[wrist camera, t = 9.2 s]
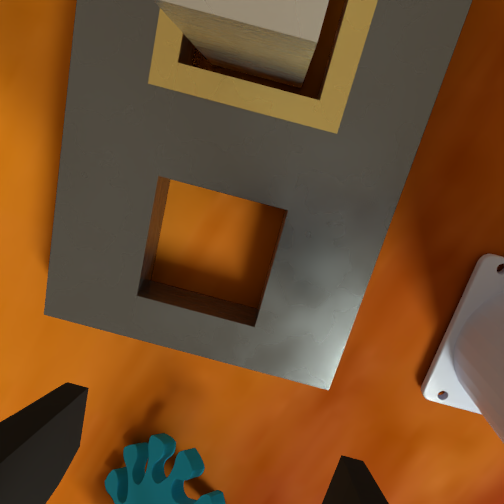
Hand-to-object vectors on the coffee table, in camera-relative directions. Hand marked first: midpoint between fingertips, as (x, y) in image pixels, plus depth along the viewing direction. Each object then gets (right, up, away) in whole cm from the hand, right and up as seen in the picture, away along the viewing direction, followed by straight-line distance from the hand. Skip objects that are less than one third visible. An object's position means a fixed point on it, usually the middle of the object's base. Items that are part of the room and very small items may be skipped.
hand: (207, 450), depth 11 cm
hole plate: (+1, +10, +7) cm, 13 cm away
